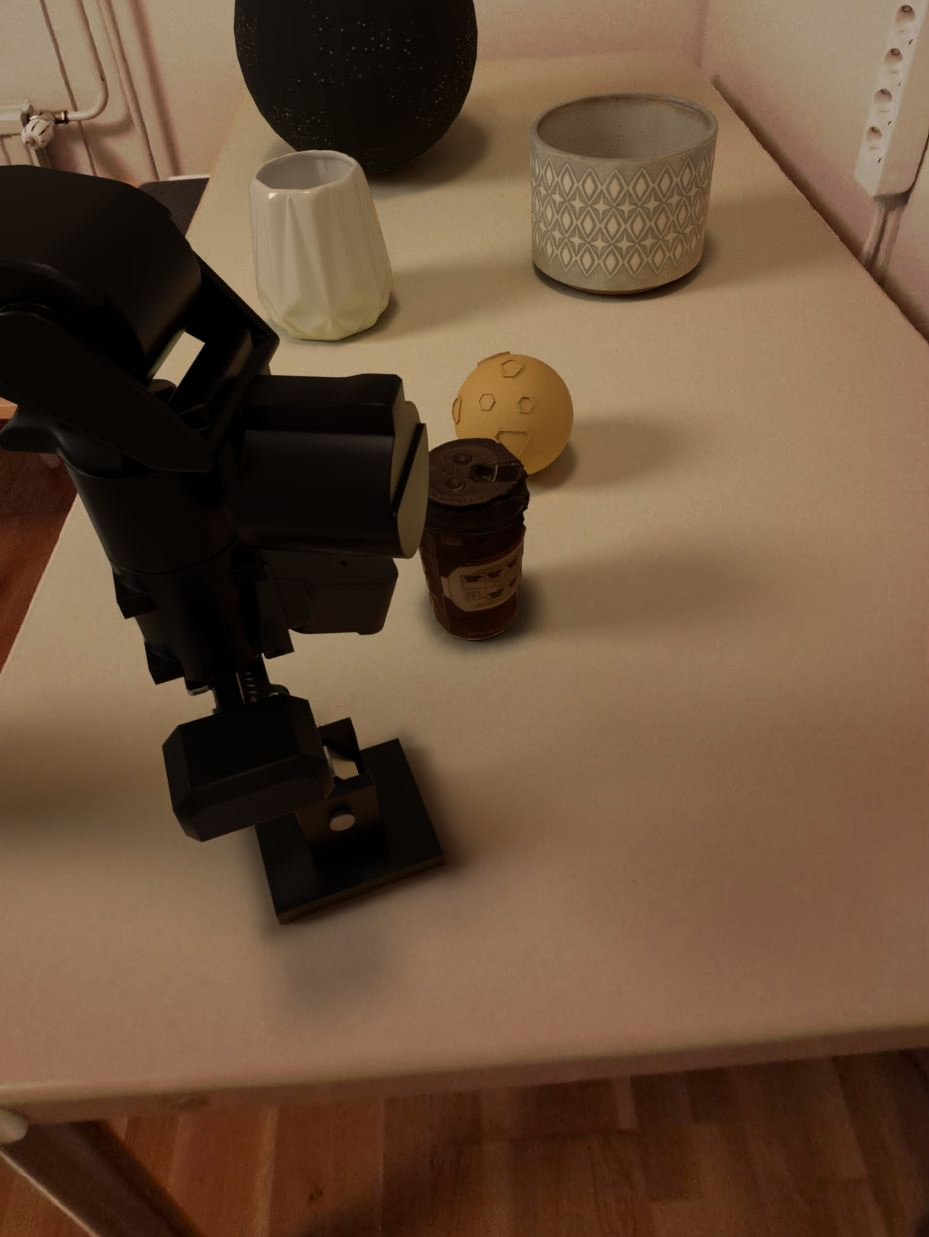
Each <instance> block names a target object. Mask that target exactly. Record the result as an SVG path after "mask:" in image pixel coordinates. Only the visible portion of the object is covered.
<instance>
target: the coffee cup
mask: <svg viewBox="0 0 929 1237" xmlns="http://www.w3.org/2000/svg"><path fill="white" fill-rule="evenodd" d="M527 478H529V475H528V474H527V472H526V470H525V469H524V465H523V464H522V463H521V461H520V460H519V459H518V458H516V457H515V456H514V455H513V454H512V453H511V452H510V451H508V449H507V448H506V447H505V446H504V445H502V444H501V443H497V442H496V441H494V440H493V439H490V438H465V439H458V438H456V439H454V440H449V441H446V442H443V443H442V444H440V445H437V446H436V447H434V448H432V449H431V450H429V486H428V499H427V509H426V516H425V523H424V528H423V533H422V537H421V541H420V544H419V547H418V549H417V551H418V553H419V557H420V562H421V567H422V571H423V573H424V577H425V584H426V587H427V588H428V597H429V601H430V605H431V606H432V611H433V614H434V617H435V620H436V622H437V624H438V625H439V626H440V628H441V629H442V630H443V631H444V632H446V633H447V635H449V636H451V637H453V638H458V639H462V640H467V641H478V640H485V639H488V638H491V637H493V636H496V635H499V634H501V633H503V632H504V631H506V629H508V627H510V626H511V625H512V623H513V622H514V620H515V619H516V616H517V613H518V611H519V608H520V602H519V599H518V592H517V591H518V590H519V587H520V585H521V582H522V580H523V556H524V553H525V552H524V548H525V535H526V532H527V526H526V525H525V524H524V523H525V520H526V518H525V515H524V513H525V512H526V511H527V510H528V509H529V504H530V500H531V493H530V491H529V488H528V485H527V481H526V480H527Z"/></svg>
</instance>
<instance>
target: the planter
mask: <svg viewBox="0 0 929 1237" xmlns="http://www.w3.org/2000/svg"><path fill="white" fill-rule="evenodd" d="M718 132H719V121H718V117H717V116H716V115H715V114H714V113H713V112H712V111H711V110H710V109H708V108H707V107H705V106H704V105H702V104H701V103H698V102H696V101H693V100H690V99H687V98H683V97H680V96H677V95H676V96H675V95H671V94H665V93H655V92H644V91H643V92H641V91H618V92H617V91H616V92H605V93H596V94H591V95H584V96H580V97H576V98H572V99H568V100H565V101H563V102H559V103H557V104H555V105H552V106H550V107H548V108H546V109H545V110H543V111H542V112H540V113H539V114H538V115H537V116H535V118H534V119H533V121H532V122H531V124H530V127H529V148H530V149H529V150H530V157H529V158H530V159H529V160H530V230H531V233H530V235H531V236H530V237H531V241H530V242H531V257H532V261H533V263H534V264H535V265H536V267H537V268H538V269H539V270H540V271H541V272H543V273H544V274H545V275H546V276H548V277H550V278H552V279H553V280H555V281H558V282H560V283H562V284H564V285H566V286H568V287H571V288H573V289H575V290H579V291H581V292H586V293H591V294H599V295H611V296H612V295H613V296H614V295H615V296H616V295H630V294H631V295H632V294H638V293H645V292H647V291H651V290H654V289H657V288H660V287H663V286H664V285H666V284H668V283H671V282H673V281H675V280H678V279H680V278H682V277H683V276H685V275H687V274H688V273H690V272H691V271H692V270H693V269H694V268H696V267H697V265H698V264H699V262H701V258H702V256H703V253H704V245H705V237H706V229H707V222H708V221H707V220H708V214H709V204H710V196H711V190H712V180H713V173H714V165H715V156H716V150H717V149H716V147H717V140H718Z"/></svg>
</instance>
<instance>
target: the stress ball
mask: <svg viewBox="0 0 929 1237" xmlns="http://www.w3.org/2000/svg"><path fill="white" fill-rule="evenodd" d="M476 365H477V366H476V368H474V369H473V370H472V371H471V372H470V373H469V374H468V375H467V377H466V378H465V380H464V381H463V383H462V384H461V386H460V388H459V390H458V392H457V394H456V397H455V398H454V400H453V402H452V408H451V418H452V420H453V424H454V432H455V435H456V437H457V438H456V439H465V438H490V439H493V440H494V441H496V442H497V443H501V444H502V445H504V446H505V447H506V448H507V449H508V451H510V452H511V453H512V454H513V455H514V456H515V457H516V458H518V459H519V460H520V461H521V463H522V464H523V465H524V469H525V470H526V472H527V474H528V476H529V475H532V474H535V473H537V472H540V471H542V470H543V469H544V468H546V467H548V466H549V465H550V464H552V463H553V462H554V461H555V460H556V459H557V458H558V457H559V456H560V454H561V453H562V452H563V451H564V449H565V448H566V446H567V443H568V441H569V439H570V436H571V434H572V430H573V425H574V413H575V412H574V405H573V400H572V396H571V393H570V390H569V387H568V386H567V385H566V382H565V380H564V379H563V378H562V376H560V374H559V373H558V372H557V371H556V370H555V369H554V368H552V367H551V366H550V365H549V364H547V363H546V362H544V361H542V360H541V359H538V358H536V357H533V356H530V355H526V354H519V353H511V352H510V351H509V350H507V351H503V352H498V353H495V354H493V355H491V356H488V357H485V358H482V360H479V361H478V362H477V363H476Z"/></svg>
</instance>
